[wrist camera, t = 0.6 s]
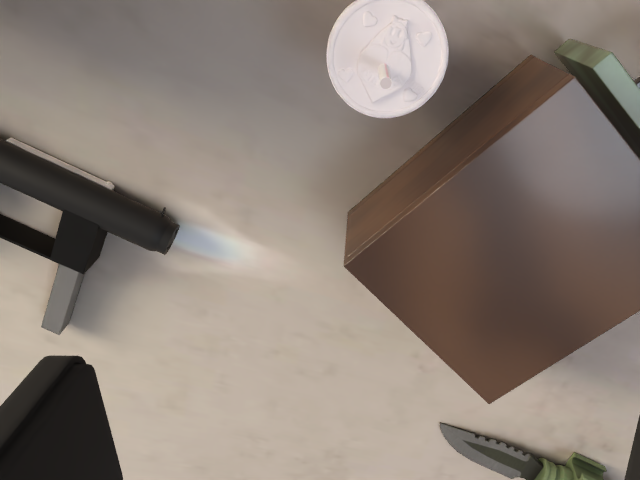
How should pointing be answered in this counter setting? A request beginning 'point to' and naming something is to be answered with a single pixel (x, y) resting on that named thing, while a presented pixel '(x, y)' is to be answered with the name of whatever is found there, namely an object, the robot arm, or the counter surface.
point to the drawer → (606, 86)
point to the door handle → (74, 221)
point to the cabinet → (508, 231)
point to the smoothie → (387, 56)
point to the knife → (518, 459)
